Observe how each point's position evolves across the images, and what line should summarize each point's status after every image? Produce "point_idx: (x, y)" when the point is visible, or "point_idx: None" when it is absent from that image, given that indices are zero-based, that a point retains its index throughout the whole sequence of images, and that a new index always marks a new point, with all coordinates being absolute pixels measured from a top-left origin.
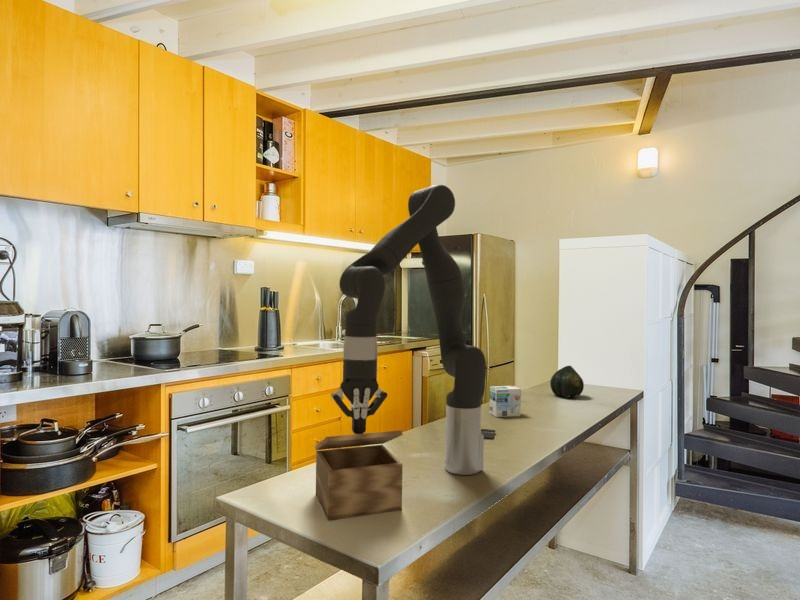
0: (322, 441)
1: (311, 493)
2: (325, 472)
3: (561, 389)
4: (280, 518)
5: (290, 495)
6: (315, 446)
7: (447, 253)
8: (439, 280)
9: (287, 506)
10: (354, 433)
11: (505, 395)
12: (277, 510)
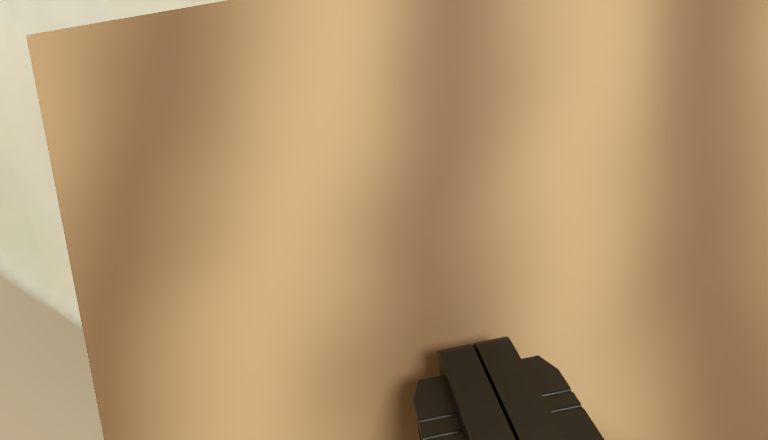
0: (109, 435)
1: (146, 7)
2: None
3: None
4: (50, 272)
5: (25, 17)
6: (35, 54)
7: None
8: None
9: (48, 159)
10: (437, 352)
11: None
12: (10, 196)
